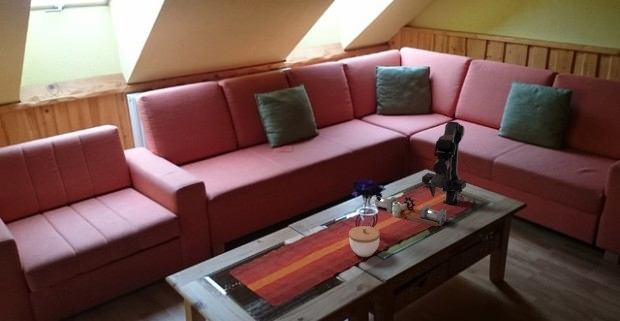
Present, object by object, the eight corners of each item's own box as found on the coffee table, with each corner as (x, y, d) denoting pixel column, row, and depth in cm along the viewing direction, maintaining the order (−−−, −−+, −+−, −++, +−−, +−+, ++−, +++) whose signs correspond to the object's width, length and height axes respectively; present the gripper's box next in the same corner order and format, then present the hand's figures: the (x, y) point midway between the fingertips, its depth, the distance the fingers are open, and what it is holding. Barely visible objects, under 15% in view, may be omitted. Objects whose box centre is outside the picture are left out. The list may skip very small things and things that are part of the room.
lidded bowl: (345, 257, 213) (345, 233, 209) (353, 243, 224) (353, 220, 220) (375, 262, 209) (375, 237, 205) (382, 247, 220) (382, 223, 216)
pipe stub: (374, 208, 256) (374, 197, 254) (380, 204, 260) (380, 193, 259) (390, 212, 251) (390, 201, 249) (396, 208, 255) (396, 197, 253)
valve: (398, 219, 244) (415, 211, 252) (398, 206, 242) (415, 198, 249) (388, 214, 249) (404, 207, 256) (388, 202, 247) (404, 195, 254)
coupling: (420, 220, 242) (420, 209, 240) (425, 215, 246) (426, 204, 244) (440, 225, 236) (441, 214, 234) (445, 220, 241) (446, 209, 239)
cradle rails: (415, 211, 251) (415, 208, 250) (445, 218, 242) (445, 216, 242) (406, 218, 244) (407, 215, 244) (437, 226, 236) (437, 223, 235)
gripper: (416, 167, 227) (415, 200, 233) (456, 176, 216) (455, 210, 222) (428, 160, 236) (427, 192, 241) (467, 168, 224) (465, 201, 230)
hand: (442, 198), depth 233 cm, fingers open, 9 cm apart
